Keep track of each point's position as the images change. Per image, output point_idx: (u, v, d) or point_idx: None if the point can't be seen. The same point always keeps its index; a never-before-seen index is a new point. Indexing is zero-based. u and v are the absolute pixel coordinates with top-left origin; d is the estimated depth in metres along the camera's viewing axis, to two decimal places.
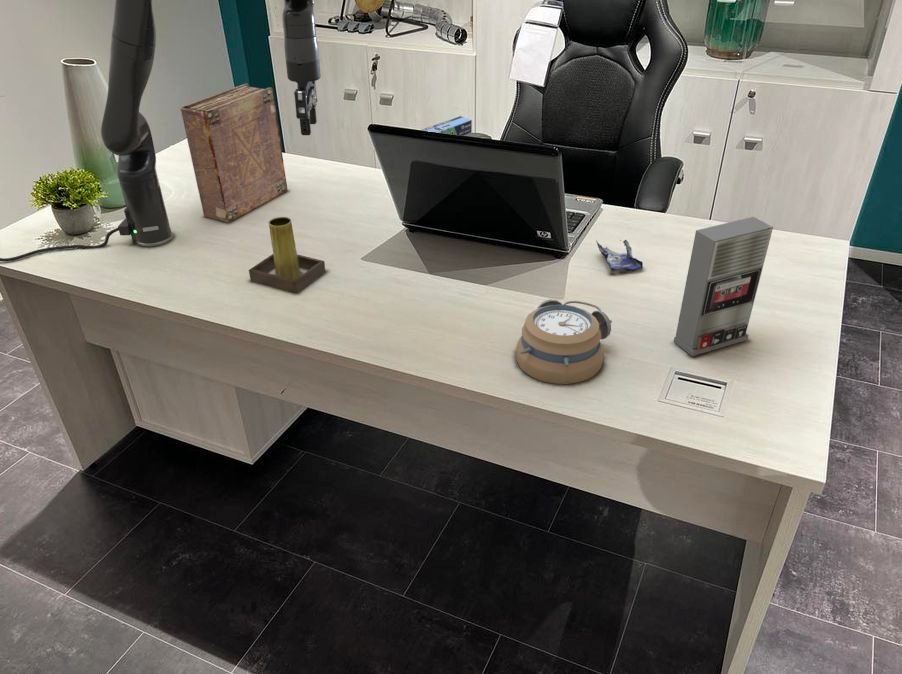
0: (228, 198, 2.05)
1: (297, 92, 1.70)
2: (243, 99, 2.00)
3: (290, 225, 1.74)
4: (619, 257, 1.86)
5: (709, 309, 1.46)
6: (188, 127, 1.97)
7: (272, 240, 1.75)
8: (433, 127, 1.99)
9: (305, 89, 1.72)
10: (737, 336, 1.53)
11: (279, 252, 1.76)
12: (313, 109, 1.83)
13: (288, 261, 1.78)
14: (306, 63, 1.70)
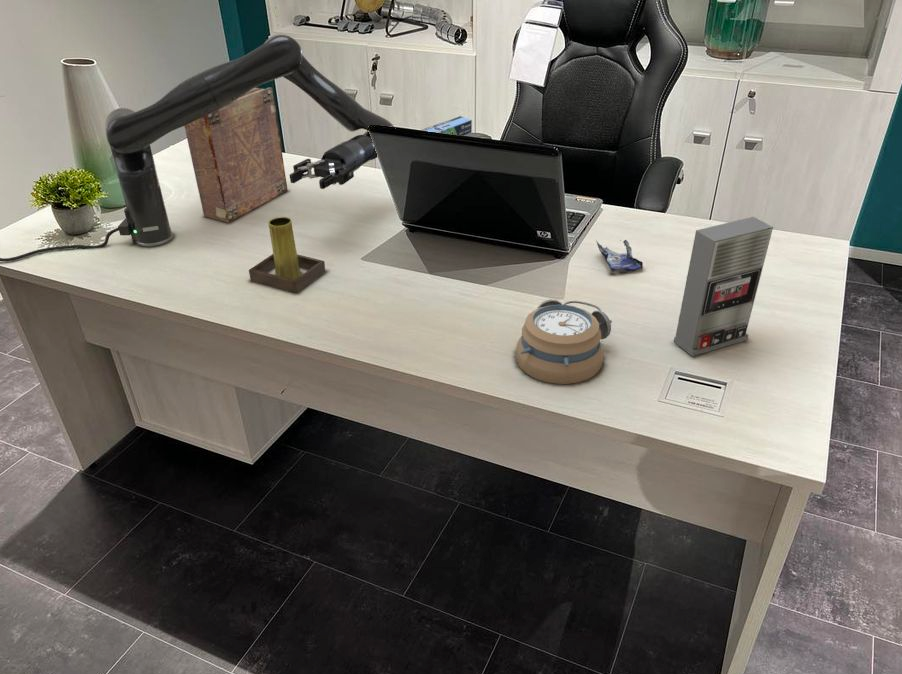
0: (228, 198, 2.05)
1: (353, 169, 1.83)
2: (243, 99, 2.00)
3: (290, 225, 1.74)
4: (619, 258, 1.86)
5: (709, 309, 1.46)
6: (188, 127, 1.97)
7: (272, 240, 1.75)
8: (433, 127, 1.99)
9: None
10: (737, 336, 1.53)
11: (279, 252, 1.76)
12: (301, 177, 1.84)
13: (288, 261, 1.78)
14: (354, 168, 1.90)
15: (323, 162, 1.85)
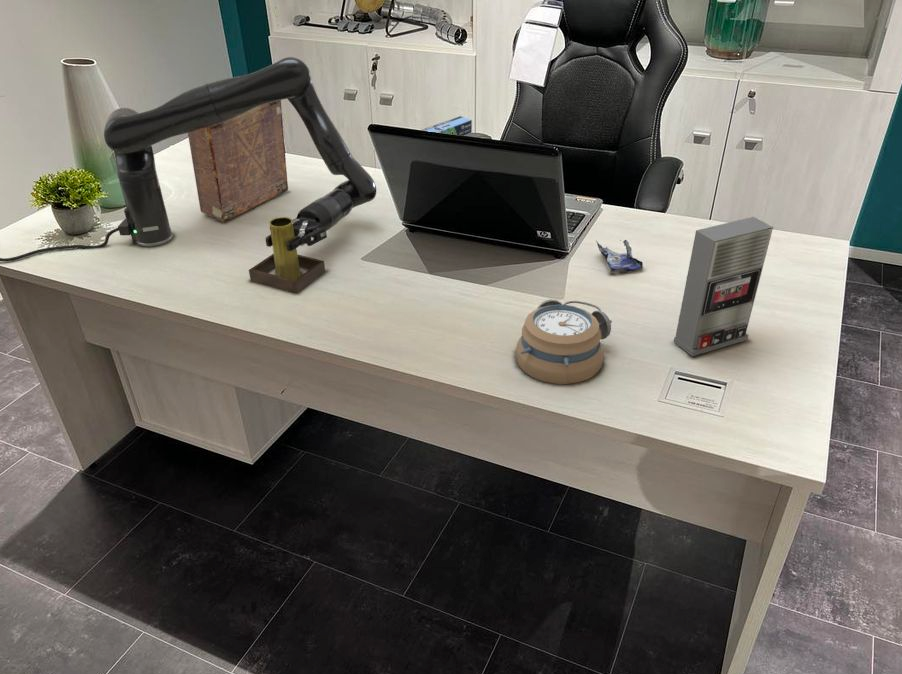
0: (225, 199, 2.05)
1: (325, 230, 1.79)
2: None
3: (291, 226, 1.74)
4: (619, 258, 1.86)
5: (709, 309, 1.46)
6: None
7: (273, 240, 1.75)
8: (433, 127, 1.99)
9: None
10: (737, 336, 1.53)
11: (280, 253, 1.76)
12: None
13: (289, 262, 1.78)
14: (331, 225, 1.86)
15: (298, 221, 1.81)
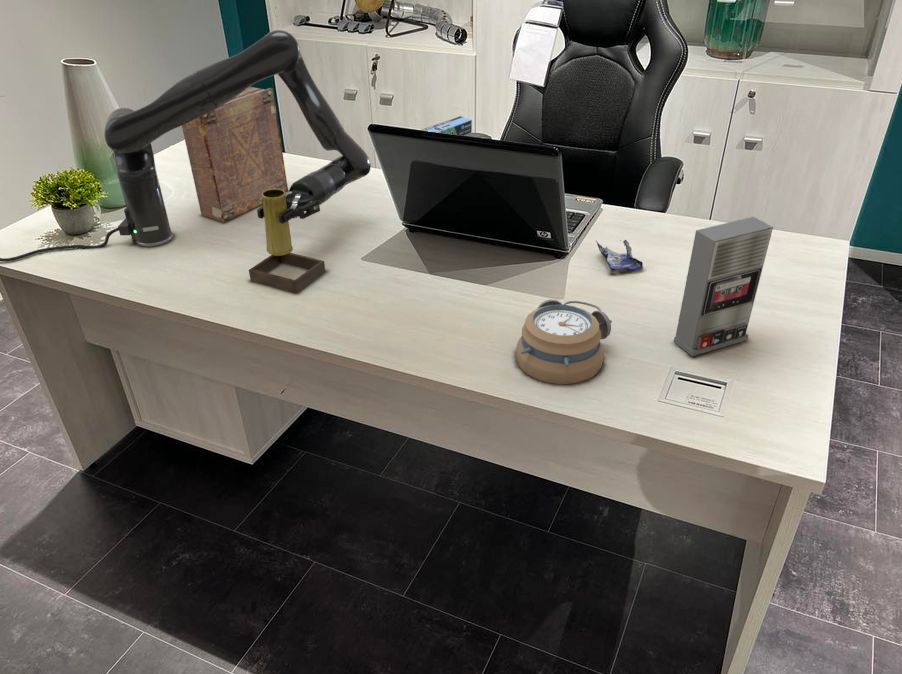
0: (224, 197, 2.05)
1: (319, 203, 1.76)
2: (241, 99, 2.00)
3: (284, 197, 1.71)
4: (619, 258, 1.86)
5: (709, 309, 1.46)
6: (185, 126, 1.97)
7: (265, 212, 1.72)
8: (433, 127, 1.99)
9: None
10: (737, 336, 1.53)
11: (272, 225, 1.73)
12: None
13: (281, 235, 1.74)
14: (324, 199, 1.83)
15: (290, 194, 1.78)
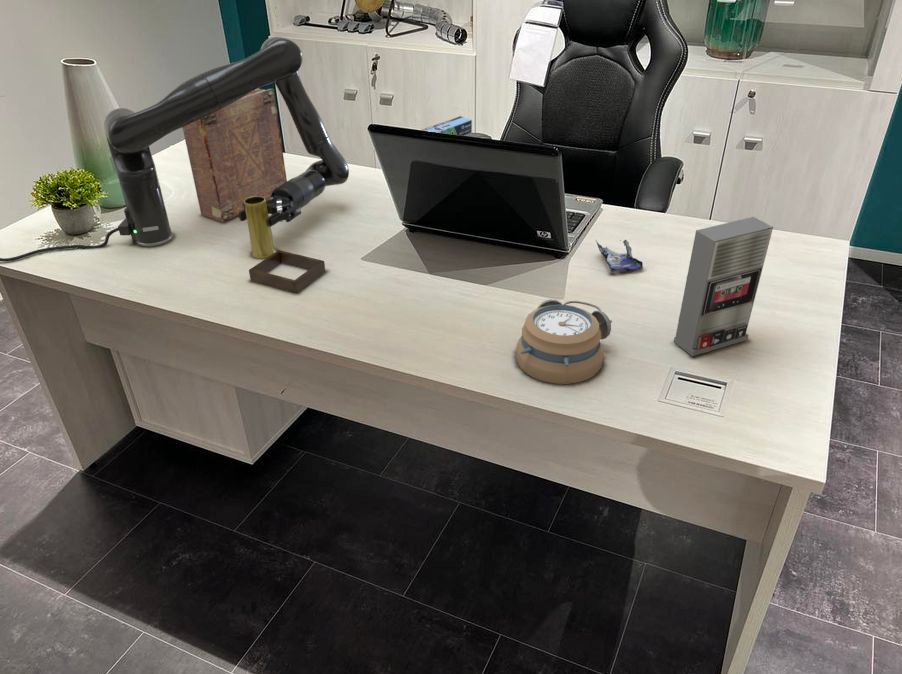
0: (223, 198, 2.06)
1: (300, 206, 1.90)
2: (242, 100, 2.00)
3: (264, 203, 1.85)
4: (619, 258, 1.86)
5: (709, 309, 1.46)
6: (185, 126, 1.97)
7: (247, 218, 1.86)
8: (433, 127, 1.99)
9: None
10: (737, 336, 1.53)
11: (254, 230, 1.87)
12: None
13: (263, 238, 1.88)
14: (303, 203, 1.96)
15: (272, 199, 1.91)
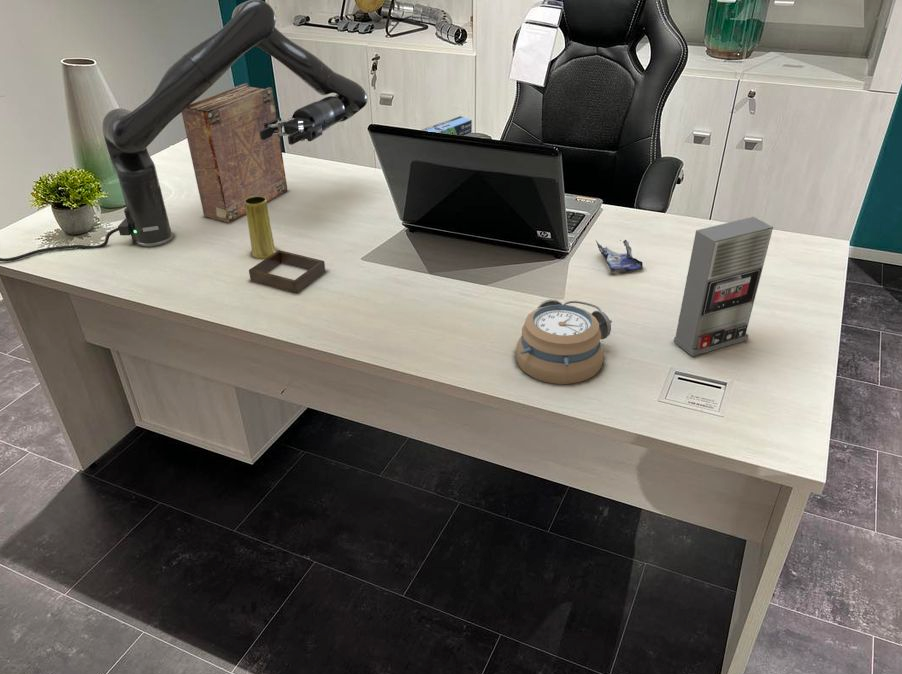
0: (228, 198, 2.05)
1: (321, 127, 1.90)
2: (243, 99, 2.00)
3: (265, 203, 1.85)
4: (619, 258, 1.86)
5: (709, 309, 1.46)
6: (188, 127, 1.96)
7: (248, 218, 1.86)
8: (433, 127, 1.99)
9: None
10: (737, 336, 1.53)
11: (255, 229, 1.87)
12: (271, 134, 1.90)
13: (263, 238, 1.88)
14: (324, 127, 1.96)
15: (293, 120, 1.91)
